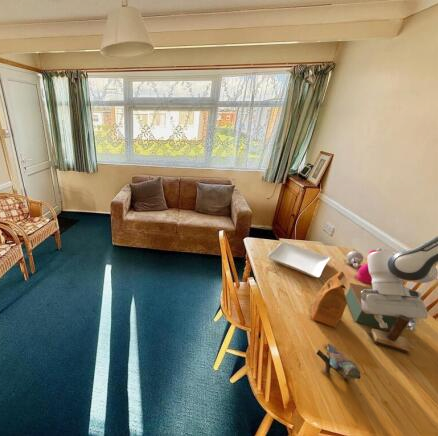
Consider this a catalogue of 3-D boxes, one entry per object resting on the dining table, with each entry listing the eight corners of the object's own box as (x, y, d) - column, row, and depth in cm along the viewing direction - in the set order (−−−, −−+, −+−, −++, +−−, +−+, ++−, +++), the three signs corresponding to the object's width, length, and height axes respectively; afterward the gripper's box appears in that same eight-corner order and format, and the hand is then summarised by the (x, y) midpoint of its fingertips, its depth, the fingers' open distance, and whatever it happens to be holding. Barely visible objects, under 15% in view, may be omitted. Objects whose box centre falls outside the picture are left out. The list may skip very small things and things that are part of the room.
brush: (401, 343, 90) (419, 317, 84) (408, 354, 85) (427, 328, 80) (369, 333, 94) (384, 308, 88) (373, 343, 90) (389, 318, 84)
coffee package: (338, 312, 103) (357, 274, 94) (336, 331, 95) (357, 290, 85) (312, 302, 109) (327, 264, 100) (308, 318, 100) (324, 279, 91)
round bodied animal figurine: (345, 269, 131) (350, 257, 128) (343, 259, 140) (348, 247, 137) (361, 273, 128) (367, 261, 124) (358, 263, 137) (364, 251, 133)
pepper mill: (371, 278, 124) (387, 247, 116) (374, 286, 119) (392, 254, 110) (354, 273, 128) (368, 243, 119) (356, 281, 122) (372, 249, 114)
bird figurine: (311, 337, 91) (331, 327, 75) (342, 349, 87) (369, 341, 71) (308, 374, 85) (329, 371, 69) (341, 388, 81) (371, 389, 65)
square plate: (329, 261, 138) (331, 256, 136) (317, 283, 121) (319, 277, 119) (281, 244, 156) (282, 239, 154) (265, 261, 139) (266, 255, 137)
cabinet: (384, 306, 107) (392, 292, 103) (403, 336, 92) (413, 321, 89) (343, 295, 113) (349, 282, 109) (354, 322, 98) (362, 308, 95)
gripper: (365, 288, 89) (374, 327, 84) (425, 293, 86) (437, 333, 82) (353, 289, 95) (361, 325, 90) (409, 293, 92) (419, 331, 88)
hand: (398, 329), depth 86 cm, fingers open, 8 cm apart
